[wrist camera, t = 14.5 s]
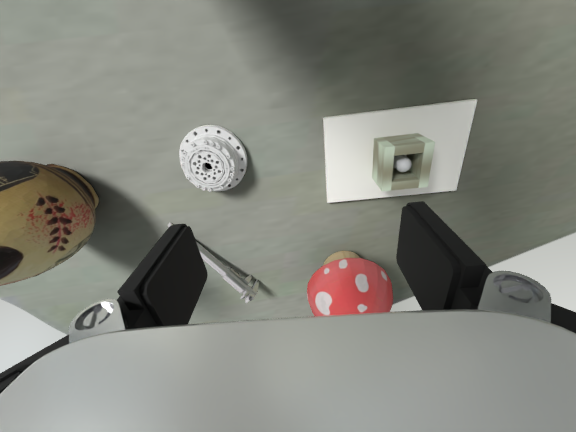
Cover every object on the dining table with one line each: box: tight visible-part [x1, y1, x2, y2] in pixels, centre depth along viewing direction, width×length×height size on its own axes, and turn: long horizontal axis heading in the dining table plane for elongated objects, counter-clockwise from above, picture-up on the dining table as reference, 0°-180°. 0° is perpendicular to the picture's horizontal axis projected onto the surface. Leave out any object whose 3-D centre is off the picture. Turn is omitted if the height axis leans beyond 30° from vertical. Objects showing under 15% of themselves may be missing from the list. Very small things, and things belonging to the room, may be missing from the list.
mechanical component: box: [179, 125, 247, 192], centre depth 37 cm, size 10×4×10 cm
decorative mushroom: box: [307, 251, 393, 316], centre depth 41 cm, size 13×13×15 cm
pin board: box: [323, 99, 477, 203], centre depth 35 cm, size 13×20×6 cm, turn 97°
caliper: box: [168, 222, 259, 303], centre depth 45 cm, size 20×1×6 cm, turn 48°
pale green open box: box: [372, 133, 435, 191], centre depth 35 cm, size 6×6×5 cm
